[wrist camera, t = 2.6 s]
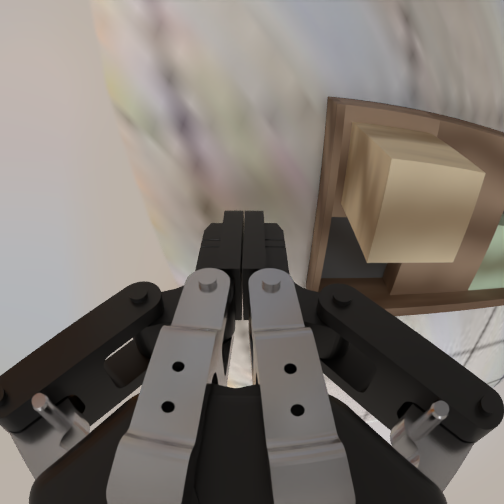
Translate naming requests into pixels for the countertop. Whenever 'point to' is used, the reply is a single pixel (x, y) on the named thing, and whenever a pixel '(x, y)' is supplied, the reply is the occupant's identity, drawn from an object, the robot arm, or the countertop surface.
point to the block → (407, 194)
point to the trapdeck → (411, 274)
